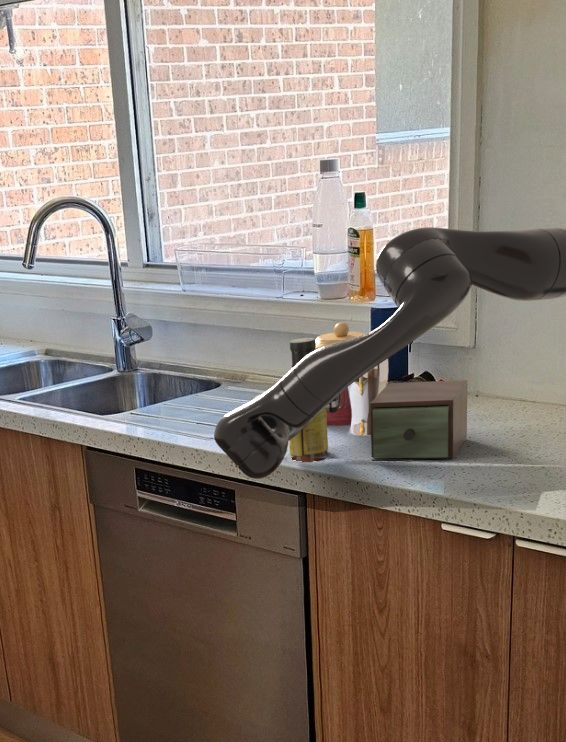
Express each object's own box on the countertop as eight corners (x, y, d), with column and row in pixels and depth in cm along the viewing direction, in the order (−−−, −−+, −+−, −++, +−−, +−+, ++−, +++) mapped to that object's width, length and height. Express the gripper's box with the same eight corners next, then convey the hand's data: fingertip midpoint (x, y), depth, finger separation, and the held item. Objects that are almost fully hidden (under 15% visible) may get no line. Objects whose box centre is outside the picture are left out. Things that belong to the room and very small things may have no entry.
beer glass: (385, 438, 209) (387, 349, 203) (344, 439, 211) (344, 351, 205) (388, 429, 215) (390, 342, 209) (348, 430, 217) (348, 344, 211)
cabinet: (452, 460, 191) (453, 399, 187) (371, 462, 197) (370, 402, 193) (466, 437, 203) (467, 379, 199) (389, 439, 208) (388, 383, 204)
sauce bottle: (333, 457, 203) (331, 335, 195) (321, 466, 198) (319, 342, 191) (295, 456, 207) (292, 336, 199) (282, 465, 202) (279, 343, 194)
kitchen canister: (298, 416, 231) (297, 321, 224) (367, 409, 231) (368, 314, 224) (313, 431, 220) (312, 331, 212) (385, 424, 219) (387, 323, 212)
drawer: (446, 459, 189) (446, 409, 186) (372, 460, 194) (370, 412, 191) (461, 435, 201) (461, 388, 198) (390, 437, 206) (389, 391, 203)
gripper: (327, 389, 182) (352, 366, 195) (234, 393, 188) (265, 370, 202) (329, 438, 185) (353, 412, 198) (237, 440, 191) (267, 415, 205)
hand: (309, 391), depth 200 cm, fingers closed on sauce bottle, 6 cm apart
